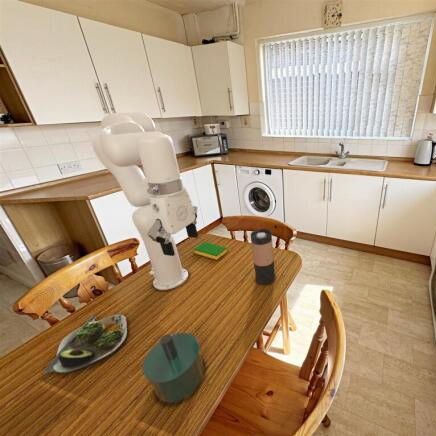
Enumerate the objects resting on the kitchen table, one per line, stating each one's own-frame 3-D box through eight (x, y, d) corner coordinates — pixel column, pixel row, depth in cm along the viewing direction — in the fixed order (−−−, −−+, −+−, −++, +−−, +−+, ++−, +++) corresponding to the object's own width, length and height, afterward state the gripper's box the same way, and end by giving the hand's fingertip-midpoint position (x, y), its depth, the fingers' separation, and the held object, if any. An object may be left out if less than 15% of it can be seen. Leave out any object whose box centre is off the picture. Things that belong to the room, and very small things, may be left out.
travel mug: (272, 286, 89) (268, 239, 80) (252, 283, 90) (246, 238, 82) (277, 273, 96) (274, 229, 87) (259, 271, 97) (254, 228, 89)
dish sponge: (217, 260, 105) (216, 255, 104) (194, 253, 111) (193, 248, 110) (227, 251, 111) (226, 247, 110) (205, 245, 117) (204, 241, 116)
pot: (145, 395, 56) (134, 372, 52) (177, 353, 65) (170, 331, 62) (184, 410, 53) (175, 387, 49) (212, 363, 62) (206, 341, 59)
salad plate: (62, 331, 73) (55, 320, 71) (129, 307, 81) (125, 297, 79) (43, 388, 58) (33, 376, 56) (128, 352, 66) (122, 340, 64)
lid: (131, 376, 52) (121, 356, 49) (170, 331, 63) (164, 312, 60) (176, 392, 49) (168, 372, 46) (210, 341, 59) (205, 322, 56)
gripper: (150, 199, 51) (170, 265, 58) (200, 178, 66) (211, 232, 73) (124, 197, 53) (146, 261, 60) (178, 176, 68) (190, 229, 75)
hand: (182, 245), depth 67 cm, fingers open, 9 cm apart
